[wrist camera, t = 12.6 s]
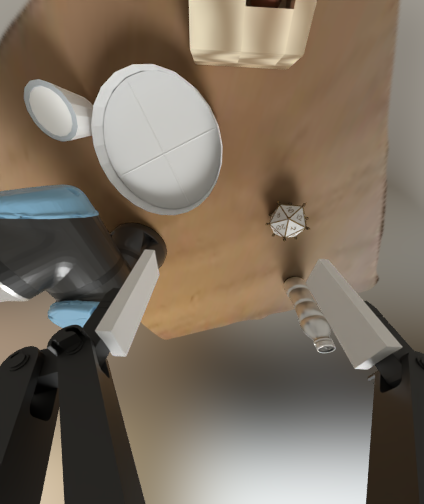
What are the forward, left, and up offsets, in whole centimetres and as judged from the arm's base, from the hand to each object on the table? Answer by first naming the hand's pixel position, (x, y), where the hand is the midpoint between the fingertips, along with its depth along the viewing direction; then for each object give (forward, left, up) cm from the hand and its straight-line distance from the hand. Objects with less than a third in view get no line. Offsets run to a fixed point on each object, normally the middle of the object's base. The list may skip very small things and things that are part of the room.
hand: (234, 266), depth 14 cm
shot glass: (-26, +10, -27) cm, 39 cm away
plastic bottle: (+24, -28, -27) cm, 46 cm away
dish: (-12, +5, -27) cm, 30 cm away
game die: (+14, -6, -27) cm, 31 cm away
